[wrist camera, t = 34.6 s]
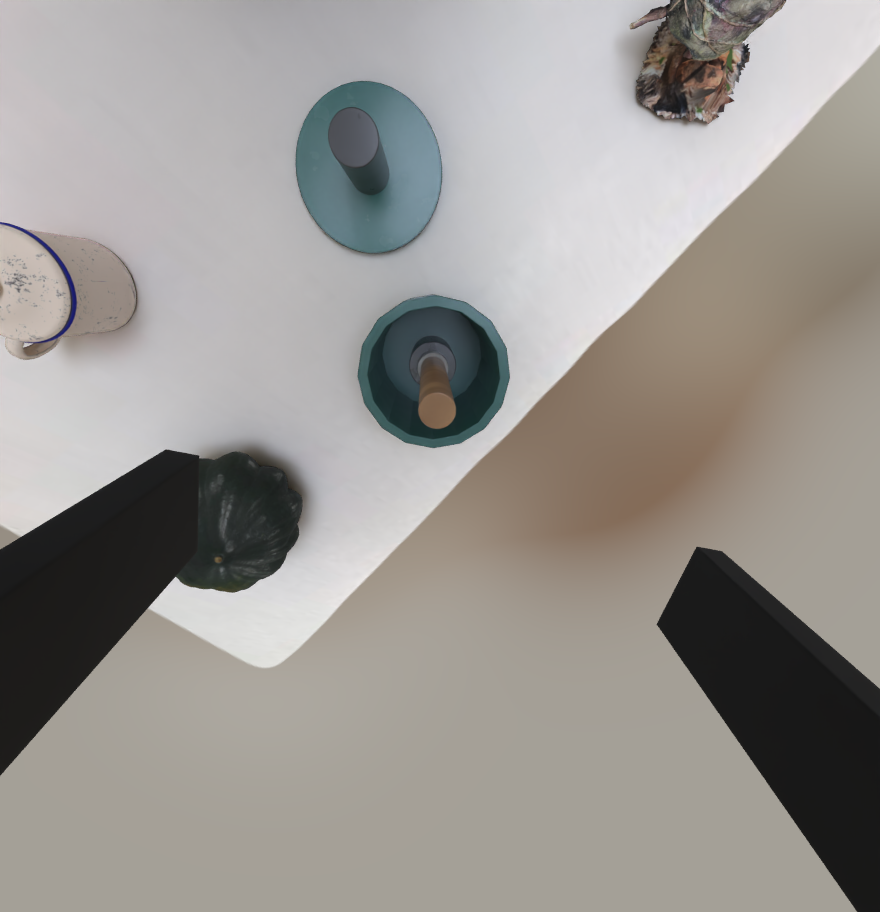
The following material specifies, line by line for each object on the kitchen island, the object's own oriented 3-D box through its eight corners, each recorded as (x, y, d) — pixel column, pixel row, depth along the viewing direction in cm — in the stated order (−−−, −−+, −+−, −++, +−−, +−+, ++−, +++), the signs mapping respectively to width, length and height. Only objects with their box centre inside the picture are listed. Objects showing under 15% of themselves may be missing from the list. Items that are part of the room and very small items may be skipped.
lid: (292, 235, 41) (252, 218, 31) (306, 67, 36) (264, -13, 27) (425, 267, 42) (425, 260, 33) (455, 110, 37) (466, 48, 28)
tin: (368, 396, 47) (348, 431, 35) (386, 283, 42) (371, 279, 31) (472, 418, 48) (487, 458, 36) (499, 310, 44) (527, 316, 32)
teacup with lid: (59, 214, 39) (-81, 184, 28) (154, 273, 41) (58, 267, 31) (24, 324, 43) (-113, 335, 32) (113, 374, 45) (13, 400, 34)
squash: (128, 549, 46) (164, 646, 37) (146, 426, 42) (191, 502, 33) (256, 532, 57) (307, 605, 48) (280, 433, 53) (342, 492, 44)
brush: (407, 372, 45) (393, 438, 25) (415, 331, 44) (407, 365, 23) (447, 381, 46) (465, 453, 25) (456, 340, 44) (483, 382, 24)
